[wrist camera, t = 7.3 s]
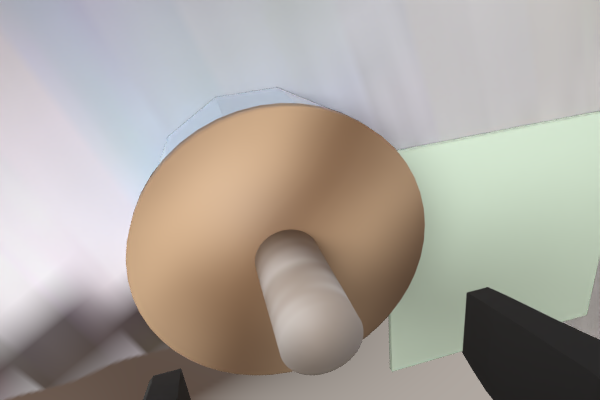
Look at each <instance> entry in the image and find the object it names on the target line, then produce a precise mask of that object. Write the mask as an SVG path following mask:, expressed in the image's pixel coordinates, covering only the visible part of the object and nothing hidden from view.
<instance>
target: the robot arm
mask: <svg viewBox="0 0 600 400" xmlns="http://www.w3.org/2000/svg"><path fill="white" fill-rule="evenodd" d="M462 353H463V354H464V356H465V358H466V360H467V361H468V363H469V365H470V366H471V368H472V370H473V371H474V373H475V374H476V376H477V377H478V379H479V380H480V382H481V384H482V385H483V387H484V388H485V390H486V391H487V392H488V394H489V395H490V396H491V398H492V399H493V400H600V340H599V339H597V338H595V337H592V336H590V335H588V334H586V333H584V332H581V331H579V330H577V329H575V328H573V327H571V326H569V325H567V324H564V323H562V322H560V321H558V320H556V319H554V318H552V317H550V316H548V315H546V314H544V313H542V312H540V311H538V310H536V309H534V308H531V307H529V306H527V305H525V304H523V303H521V302H519V301H517V300H515V299H513V298H511V297H509V296H507V295H505V294H503V293H500V292H498V291H496V290H494V289H491V288H489V287H486V288H482V289H478V290H475V291H471V292H467V294H466V309H465V323H464V337H463V351H462ZM143 400H191V399H190V396H189V392H188V389H187V386H186V383H185V380H184V377H183V373H182V370H181V369H178V370H174V371H170V372H166V373H163V374H159V375H155V376H153V377H152V379H151V380H150V382H149V384H148V387H147V390H146V393H145V396H144V399H143Z"/></svg>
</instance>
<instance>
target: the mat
mask: <svg viewBox="0 0 600 400" xmlns="http://www.w3.org/2000/svg"><path fill="white" fill-rule="evenodd" d="M397 152H398V153H399V154H400V155H401V157H402V158H403V159H404V160H405V162H406V163H407V165H408V167H409V168H410V170H411V172H412V174H413V175H414V177H415V180H416V183H417V185H418V188H419V190H420V193H421V198H422V203H423V207H424V218H425V232H424V243H423V248H422V253H421V257H420V260H419V263H418V266H417V269H416V272H415V275H414V277H413V279H412V281H411V283H410V285H409V287H408V289H407V291H406V292H405V294H404V295H403V297H402V299H401V300H400V302H399V303H398V304H397V306H396V307H395V308H394V310H393V311H392V312H391V313H390V315H389V350H390V369H391V371H392V372H393V371H396V370H400V369H403V368H407V367H410V366H414V365H417V364H421V363H424V362H427V361H431V360H434V359H437V358H441V357H444V356H448V355H451V354H455V353H458V352H462V351H463V337H464V323H465V309H466V294H467V292H471V291H475V290H478V289H482V288H486V287H489V288H491V289H494V290H496V291H498V292H500V293H503V294H505V295H507V296H509V297H511V298H513V299H515V300H517V301H519V302H521V303H523V304H525V305H527V306H529V307H531V308H534V309H536V310H538V311H540V312H542V313H544V314H546V315H548V316H550V317H552V318H554V319H556V320H558V321H560V322H564V321H567V320H571V319H574V318H578V317H581V316H585V315H587V311H588V307H589V302H590V298H591V293H592V289H593V284H594V280H595V276H596V271H597V267H598V262H599V258H600V111H597V112H592V113H586V114H581V115H576V116H571V117H566V118H561V119H556V120H550V121H545V122H540V123H535V124H530V125H525V126H520V127H514V128H509V129H504V130H499V131H494V132H489V133H484V134H478V135H473V136H468V137H463V138H458V139H453V140H448V141H443V142H437V143H432V144H427V145H422V146H417V147H412V148H407V149H401V150H397Z"/></svg>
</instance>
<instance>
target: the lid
mask: <svg viewBox="0 0 600 400" xmlns="http://www.w3.org/2000/svg"><path fill="white" fill-rule="evenodd" d="M424 232H425V218H424V207H423V203H422V198H421V193H420V190H419V188H418V185H417V183H416V180H415V177H414V175H413V174H412V172H411V170H410V168H409V167H408V165H407V163H406V162H405V160H404V159H403V158H402V157H401V155H400V154H399V153H398V152H397V150H396V149H395V148H394V147H393V146H392V145H391V144H390V143H388V142H387V141H386V140H385V139H384V138H383V137H382V136H381V135H379V134H378V133H376V132H375V131H373V130H372V129H370V128H369V127H367V126H366V125H364V124H362V123H361V122H359V121H358V120H355V119H353V118H351V117H349V116H347V115H345V114H343V113H341V112H338V111H334V110H331V109H328V108H325V107H321V106H315V105H308V104H302V103H276V104H267V105H259V106H255V107H251V108H247V109H243V110H239V111H236V112H233V113H231V114H228V115H226V116H223V117H221V118H218V119H216V120H214V121H212V122H211V123H209V124H207V125H205V126H203V127H202V128H200V129H198V130H197V131H195V132H194V133H192V134H191V135H190V136H188V137H187V138H186V139H184V140H183V141H182V142H180V143H179V144H178V145H177V146H176V147H175V148H174V149H173V150H172V151H171V152H170V153H169V154H168V155H167V156H166V157H165V158H164V159H163V160H162V162H161V163H160V164H159V166H158V167H157V168H156V169H155V171H154V172H153V173H152V175H151V176H150V178H149V180H148V181H147V183H146V185H145V187H144V189H143V190H142V192H141V194H140V197H139V199H138V202H137V205H136V207H135V210H134V213H133V217H132V221H131V225H130V230H129V235H128V239H127V249H126V267H127V276H128V282H129V286H130V289H131V293H132V296H133V299H134V301H135V303H136V305H137V307H138V310H139V312H140V314H141V315H142V317H143V318H144V320H145V321H146V323H147V324H148V326H149V327H150V328H151V329H152V330H153V331H154V333H155V334H156V335H157V336H158V337H159V338H160V339H161V340H162V341H163V342H164V343H166V344H167V345H168V346H169V347H171V348H172V349H173V350H174V351H176V352H178V353H179V354H181V355H183V356H184V357H186V358H188V359H189V360H192V361H194V362H196V363H198V364H201V365H203V366H205V367H209V368H212V369H215V370H219V371H223V372H228V373H234V374H243V375H273V374H280V373H287V372H292V371H295V372H297V373H300V374H304V375H320V374H324V373H328V372H331V371H333V370H335V369H337V368H339V367H341V366H342V365H344V364H345V363H347V362H348V361H349V360H350V359H351V358H352V357H353V356H354V355H355V353H356V352H357V351H358V349H359V347H360V345H361V343H362V340H363V339H364V338H365V337H367V336H368V335H369V334H370V333H371V332H372V331H374V330H375V329H376V328H377V327H378V326H379V325H380V324H381V323H382V322H383V321H384V320H385V319H386V318H387V317H388V316H389V315H390V313H391V312H392V311H393V310H394V308H395V307H396V306H397V304H398V303H399V302H400V300H401V299H402V297H403V295H404V294H405V292H406V291H407V289H408V287H409V285H410V283H411V281H412V279H413V277H414V275H415V272H416V269H417V266H418V263H419V260H420V257H421V253H422V248H423V243H424Z"/></svg>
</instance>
